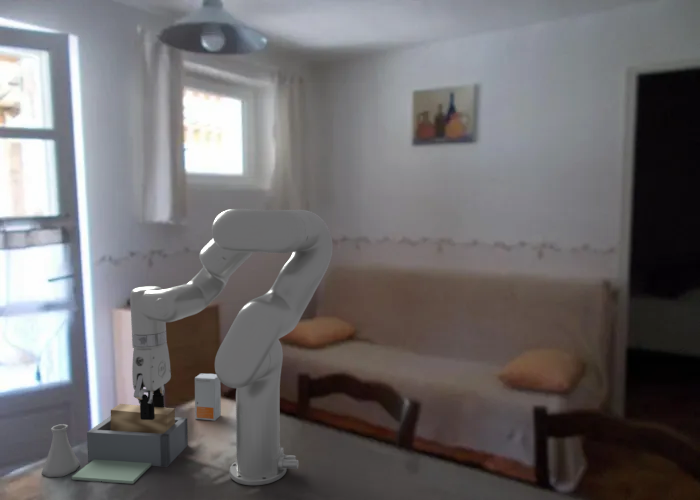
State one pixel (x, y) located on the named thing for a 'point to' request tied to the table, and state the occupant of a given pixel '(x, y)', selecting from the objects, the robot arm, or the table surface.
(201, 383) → the skincare box
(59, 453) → the flask
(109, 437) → the cradle
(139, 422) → the oak bar
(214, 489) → the table surface
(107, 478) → the mat
